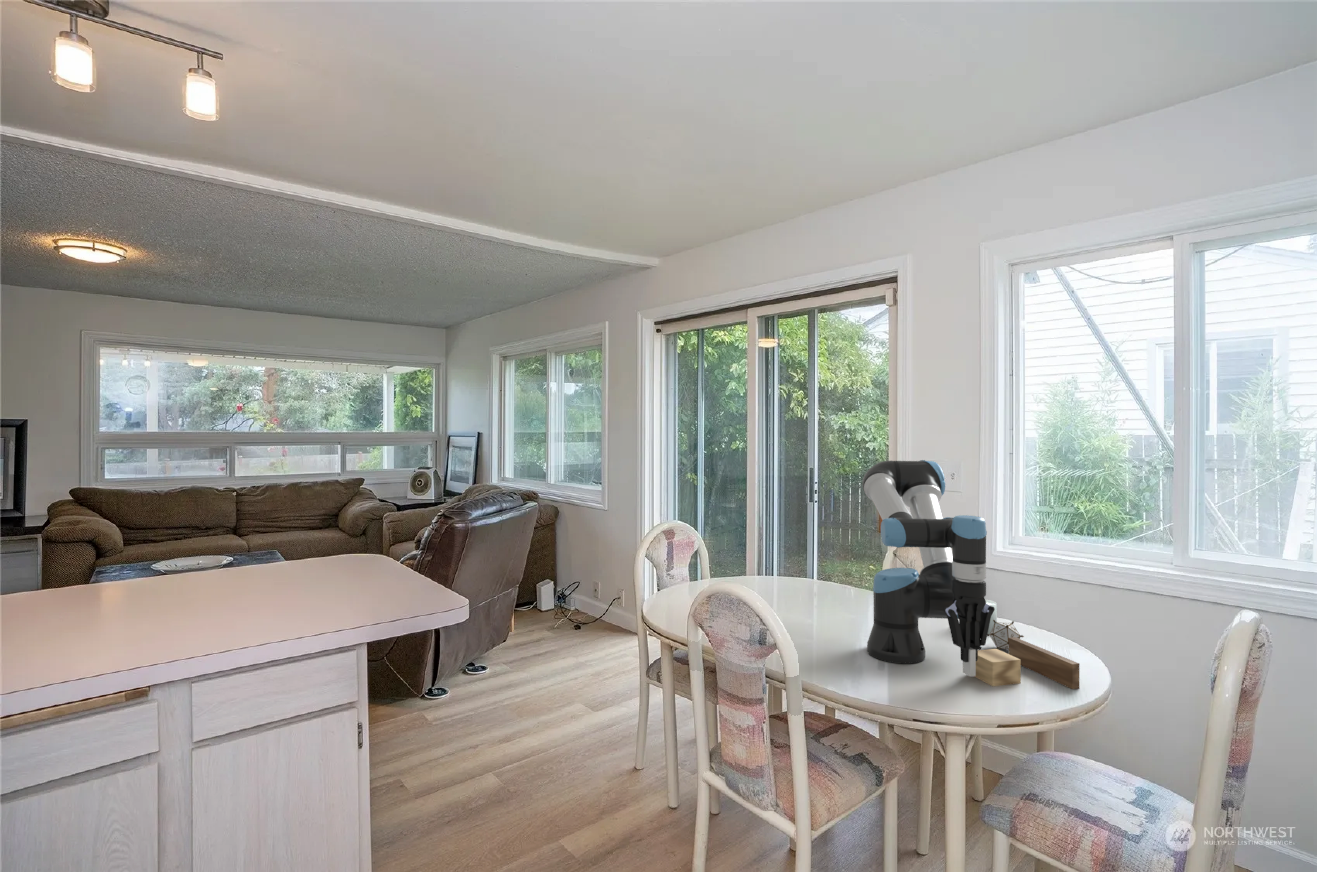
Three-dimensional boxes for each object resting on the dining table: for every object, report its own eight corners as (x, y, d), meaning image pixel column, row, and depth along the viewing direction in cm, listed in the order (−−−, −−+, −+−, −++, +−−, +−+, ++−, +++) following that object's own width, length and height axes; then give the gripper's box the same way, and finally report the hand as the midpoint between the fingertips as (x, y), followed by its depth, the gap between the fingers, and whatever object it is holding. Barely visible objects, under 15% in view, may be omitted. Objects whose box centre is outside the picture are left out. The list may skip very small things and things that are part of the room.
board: (1072, 689, 151) (1072, 664, 151) (1008, 659, 170) (1008, 637, 170) (1079, 688, 151) (1079, 663, 151) (1015, 659, 171) (1014, 637, 171)
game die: (1007, 661, 180) (1025, 631, 181) (1015, 660, 172) (1033, 629, 173) (977, 641, 183) (994, 612, 185) (983, 640, 176) (1001, 609, 177)
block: (992, 686, 153) (992, 662, 153) (969, 674, 161) (969, 651, 161) (1020, 683, 155) (1020, 659, 155) (996, 671, 163) (996, 648, 163)
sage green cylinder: (980, 635, 191) (980, 606, 190) (962, 627, 198) (962, 599, 198) (1002, 633, 192) (1002, 604, 192) (983, 626, 200) (983, 597, 200)
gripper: (956, 584, 151) (956, 682, 151) (1003, 581, 154) (1003, 677, 154) (935, 577, 158) (936, 670, 158) (981, 574, 161) (981, 666, 161)
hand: (969, 674), depth 156 cm, fingers closed
